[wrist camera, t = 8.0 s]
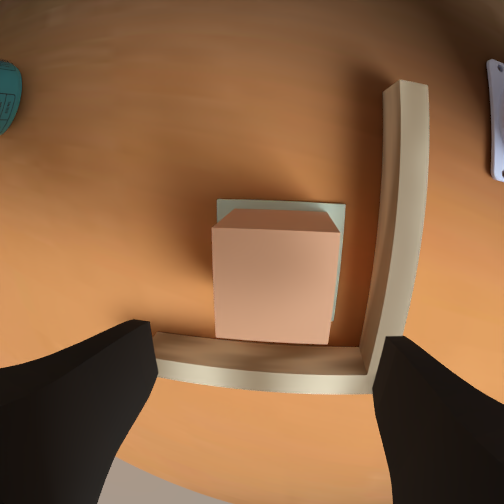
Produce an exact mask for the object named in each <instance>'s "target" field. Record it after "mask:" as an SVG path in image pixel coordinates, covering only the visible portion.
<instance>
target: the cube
mask: <svg viewBox="0 0 504 504" xmlns="http://www.w3.org/2000/svg"><path fill="white" fill-rule="evenodd" d="M339 245H340V231H339V230H338V228H337V227H336V225H335V224H334V222H333V221H332V219H331V217H330V216H329V214H328V213H327V212H318V211H296V210H270V209H233V210H232V211H231V212H230V213H229V214H227V215H226V216H225V217H224V218H223V219H221V220H220V221H219V222H218V223H217V224H215V225H214V226H213V227H212V260H213V288H214V312H215V332H216V337H217V338H227V339H239V340H251V341H265V342H281V343H302V344H328V340H329V333H330V326H331V319H332V311H333V303H334V295H335V286H336V277H337V267H338V256H339Z"/></svg>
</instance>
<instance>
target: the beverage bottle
mask: <svg viewBox="0 0 504 504" xmlns="http://www.w3.org/2000/svg"><path fill="white" fill-rule="evenodd" d="M4 61H5V60H4ZM4 61H3V60H0V135H2V134H3V133H4V132H5V131H6V130H7V129H8V128H9V126H10V125H11V123H12V121H13V119H14V117H15V115H16V112H17V109H18V106H19V103H20V98H21V92H22V78H21V74H20V71H19V70H18V68H17V67H16V66H14V65H13V63H12V62H11V63H12V64H11V63H8V61H7V62H6V61H5V62H4Z"/></svg>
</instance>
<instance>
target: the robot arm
mask: <svg viewBox="0 0 504 504" xmlns="http://www.w3.org/2000/svg"><path fill="white" fill-rule="evenodd" d="M498 67H499V69H500V71H499V70H498ZM487 72H488V81H489V92H490V105H491V131H492V149H491V175H492V177H493V179H495V180H498V181H502V182H504V176H502V171H504V64H503V63H501V62H499V61H496V60H494V59H490V60H488V61H487ZM158 373H159V372H158V367H157V362H156V356H155V351H154V345H153V339H152V334H151V327H150V322H149V321H142V320H135V319H132V320H129V321H126V322H124V323H121V324H119V325H117V326H115V327H112V328H110V329H108V330H106V331H104V332H102V333H99V334H97V335H95V336H93V337H91V338H89V339H86V340H84V341H82V342H80V343H78V344H75V345H73V346H70V347H68V348H66V349H63V350H61V351H58V352H56V353H54V354H51V355H48V356H45V357H43V358H40V359H36V360H33V361H30V362H26V363H23V364H19V365H15V366H10V367H5V368H0V504H97V502H98V499H99V496H100V493H101V490H102V488H103V485H104V482H105V479H106V477H107V474H108V472H109V469H110V467H111V464H112V462H113V460H114V457H115V455H116V453H117V451H118V449H119V447H120V446H121V444H122V442H123V440H124V439H125V437H126V435H127V434H128V432H129V430H130V429H131V427H132V425H133V424H134V422H135V420H136V418H137V417H138V415H139V413H140V412H141V410H142V408H143V406H144V405H145V403H146V401H147V399H148V398H149V396H150V393H151V391H152V388H153V386H154V383H155V381H156V378H157V375H158ZM372 392H373V401H374V408H375V415H376V419H377V423H378V427H379V431H380V435H381V439H382V443H383V447H384V451H385V455H386V459H387V463H388V467H389V472H390V478H391V484H392V495H393V504H504V404H502V403H500V402H498V401H496V400H494V399H493V398H491V397H489V396H487V395H486V394H484V393H482V392H481V391H479V390H477V389H476V388H474V387H473V386H471V385H470V384H469V383H467V382H466V381H464V380H463V379H461V378H460V377H458V376H457V375H456V374H454V373H453V372H452V371H450V370H449V369H448V368H446V367H445V366H444V365H442V364H441V363H440V362H438V361H437V360H436V359H435V358H433V357H432V356H431V355H430V354H428V353H427V352H426V351H424V350H423V349H422V348H421V347H419V346H418V345H417V344H415V343H414V342H413V341H411V340H410V339H408V338H407V337H405V336H386V337H385V341H384V346H383V350H382V354H381V357H380V361H379V365H378V369H377V372H376V376H375V380H374V383H373V386H372Z"/></svg>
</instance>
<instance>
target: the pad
mask: <svg viewBox="0 0 504 504" xmlns="http://www.w3.org/2000/svg"><path fill="white" fill-rule="evenodd" d="M345 207H346V205H345V204H334V203H317V202H298V201H275V200H245V199H217V223H218V222H219V221H220V220H221V219H223V218H224V217H225V216H226V215H227V214H229V213H230V212H231V211H232V210H233V209H270V210H296V211H318V212H327V213H328V214H329V216H330V217H331V219H332V221H333V222H334V224H335V225H336V227H337V228H338V230H339V231H340V245H339V256H338V267H337V277H336V286H335V295H334V303H333V311H332V319H331V321H334V314H335V307H336V299H337V291H338V283H339V274H340V265H341V255H342V245H343V234H344V221H345Z"/></svg>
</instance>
